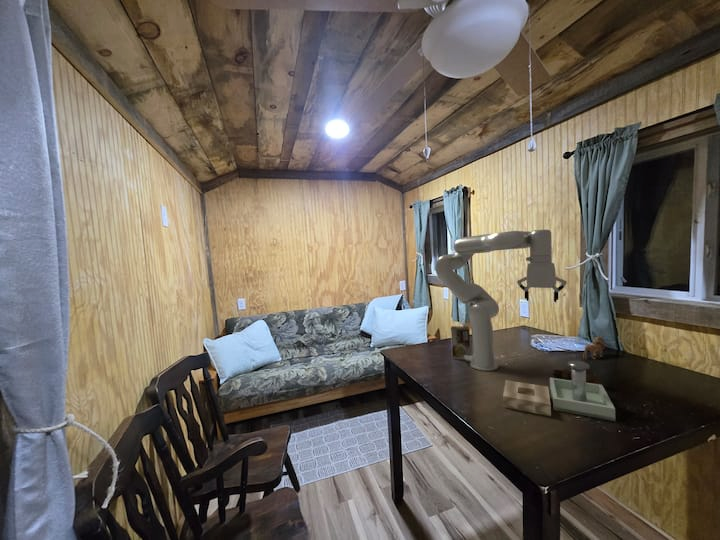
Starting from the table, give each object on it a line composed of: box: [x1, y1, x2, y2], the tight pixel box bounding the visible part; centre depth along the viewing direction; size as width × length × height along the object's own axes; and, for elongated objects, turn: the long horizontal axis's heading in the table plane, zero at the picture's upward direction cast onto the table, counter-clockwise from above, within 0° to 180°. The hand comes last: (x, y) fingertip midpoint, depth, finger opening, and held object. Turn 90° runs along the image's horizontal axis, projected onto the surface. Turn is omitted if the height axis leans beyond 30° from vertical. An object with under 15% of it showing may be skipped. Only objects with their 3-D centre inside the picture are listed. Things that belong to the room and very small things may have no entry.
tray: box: [549, 377, 616, 422], centre depth 99 cm, size 16×18×4 cm
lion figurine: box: [582, 336, 605, 360], centre depth 138 cm, size 15×5×9 cm, turn 118°
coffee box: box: [450, 325, 472, 360], centre depth 148 cm, size 9×6×16 cm
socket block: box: [502, 379, 552, 417], centre depth 102 cm, size 14×14×4 cm
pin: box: [567, 360, 590, 402], centre depth 99 cm, size 6×6×13 cm
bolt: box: [552, 368, 601, 385], centre depth 114 cm, size 6×5×15 cm
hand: (541, 301), depth 116 cm, fingers open, 9 cm apart
